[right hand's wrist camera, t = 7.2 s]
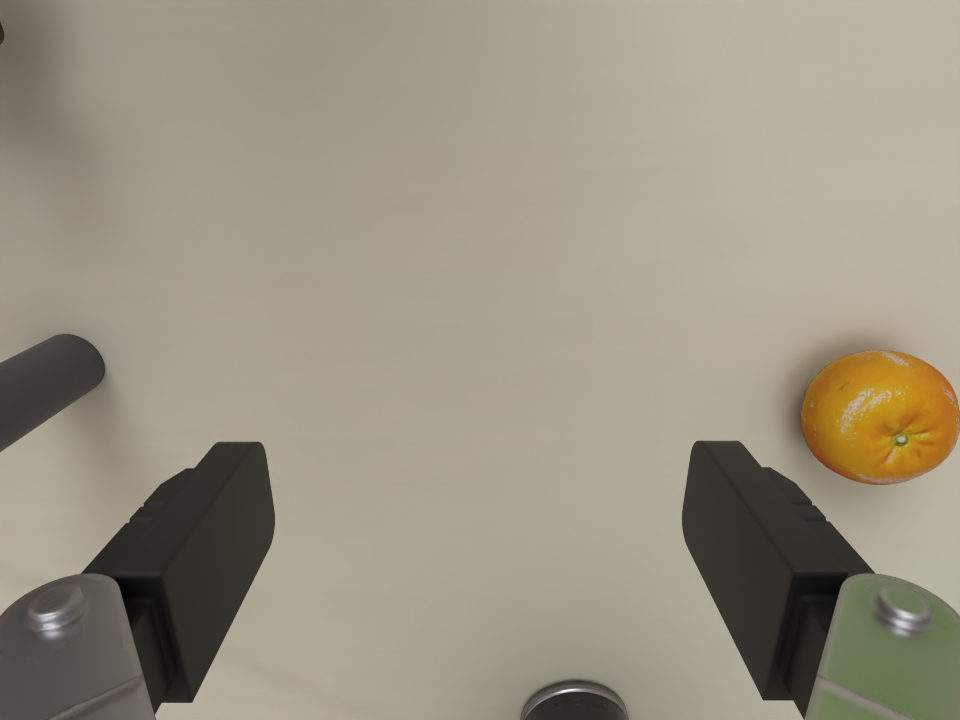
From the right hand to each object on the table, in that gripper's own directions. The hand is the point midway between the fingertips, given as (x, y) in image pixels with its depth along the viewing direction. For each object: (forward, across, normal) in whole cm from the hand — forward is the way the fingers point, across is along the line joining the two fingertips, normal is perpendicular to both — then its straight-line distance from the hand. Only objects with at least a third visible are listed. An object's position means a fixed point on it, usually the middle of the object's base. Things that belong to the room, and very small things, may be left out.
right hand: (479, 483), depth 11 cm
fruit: (+28, +25, -11) cm, 39 cm away
